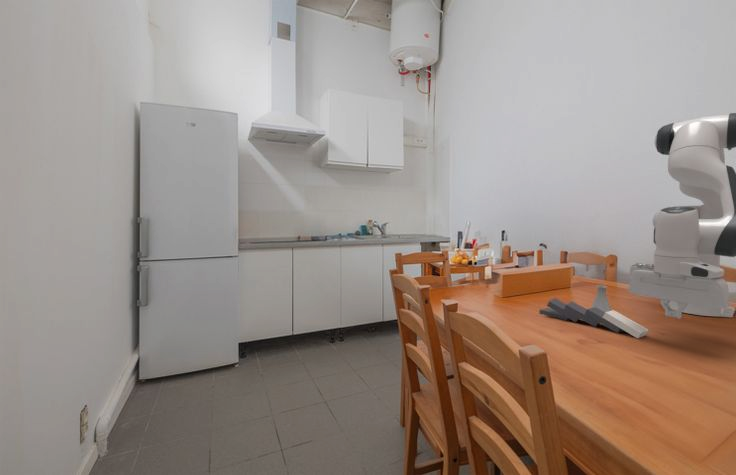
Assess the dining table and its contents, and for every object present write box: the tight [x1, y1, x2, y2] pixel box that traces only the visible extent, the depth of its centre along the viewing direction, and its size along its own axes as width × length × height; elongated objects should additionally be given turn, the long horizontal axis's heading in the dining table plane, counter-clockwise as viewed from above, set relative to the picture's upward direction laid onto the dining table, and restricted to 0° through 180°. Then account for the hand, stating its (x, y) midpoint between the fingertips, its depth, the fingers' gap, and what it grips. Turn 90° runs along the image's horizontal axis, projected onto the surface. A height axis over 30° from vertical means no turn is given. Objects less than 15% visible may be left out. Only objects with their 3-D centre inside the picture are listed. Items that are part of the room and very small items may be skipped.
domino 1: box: [539, 307, 572, 321], centre depth 118 cm, size 2×5×10 cm
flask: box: [590, 285, 613, 312], centre depth 120 cm, size 7×7×10 cm
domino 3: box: [564, 300, 601, 328], centre depth 110 cm, size 2×5×10 cm
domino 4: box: [585, 307, 625, 334], centre depth 104 cm, size 2×5×10 cm
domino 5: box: [602, 309, 650, 339], centre depth 100 cm, size 2×5×10 cm
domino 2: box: [546, 297, 581, 323], centre depth 114 cm, size 2×5×10 cm
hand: (673, 317), depth 90 cm, fingers closed
